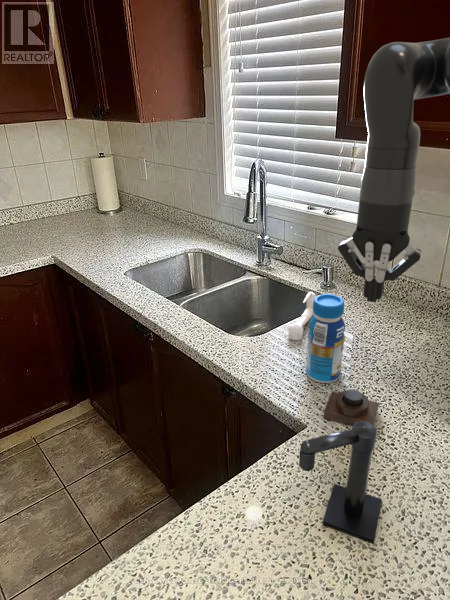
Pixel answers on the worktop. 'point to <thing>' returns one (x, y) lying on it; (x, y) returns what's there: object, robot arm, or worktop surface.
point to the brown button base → (350, 410)
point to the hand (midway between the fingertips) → (372, 299)
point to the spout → (338, 443)
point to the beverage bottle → (326, 339)
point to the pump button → (352, 398)
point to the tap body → (354, 502)
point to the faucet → (302, 318)
